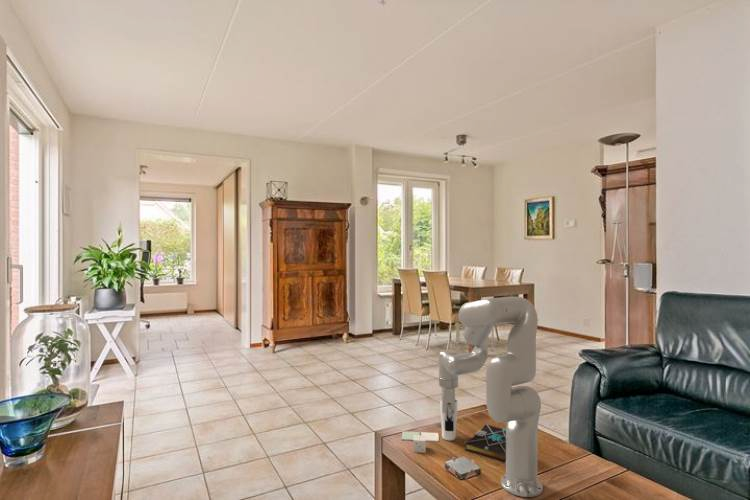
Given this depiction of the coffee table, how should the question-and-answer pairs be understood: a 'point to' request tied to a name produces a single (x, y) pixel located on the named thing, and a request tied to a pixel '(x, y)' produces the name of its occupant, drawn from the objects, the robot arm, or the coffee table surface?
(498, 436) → the book
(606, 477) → the coffee table surface
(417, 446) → the die
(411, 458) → the coffee table surface
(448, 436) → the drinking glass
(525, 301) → the robot arm
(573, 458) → the coffee table surface
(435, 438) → the squares
